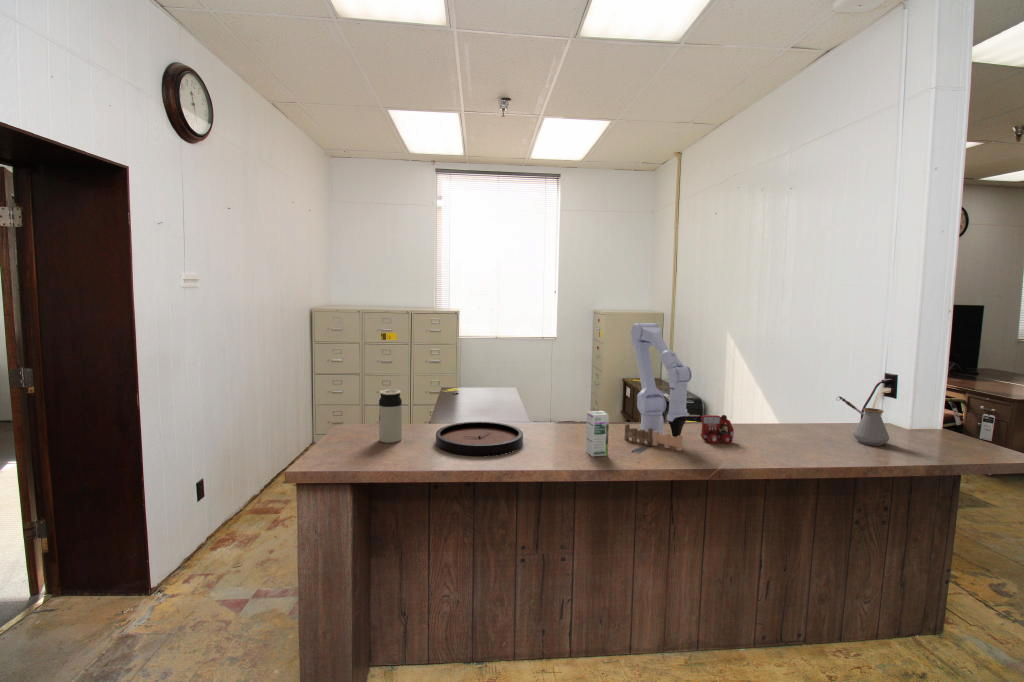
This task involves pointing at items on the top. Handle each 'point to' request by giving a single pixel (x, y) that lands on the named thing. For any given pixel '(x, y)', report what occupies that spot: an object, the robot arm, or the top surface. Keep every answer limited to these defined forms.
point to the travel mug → (390, 416)
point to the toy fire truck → (716, 429)
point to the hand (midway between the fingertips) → (676, 437)
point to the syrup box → (597, 433)
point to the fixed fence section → (638, 434)
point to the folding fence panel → (667, 440)
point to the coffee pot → (870, 426)
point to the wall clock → (479, 439)
